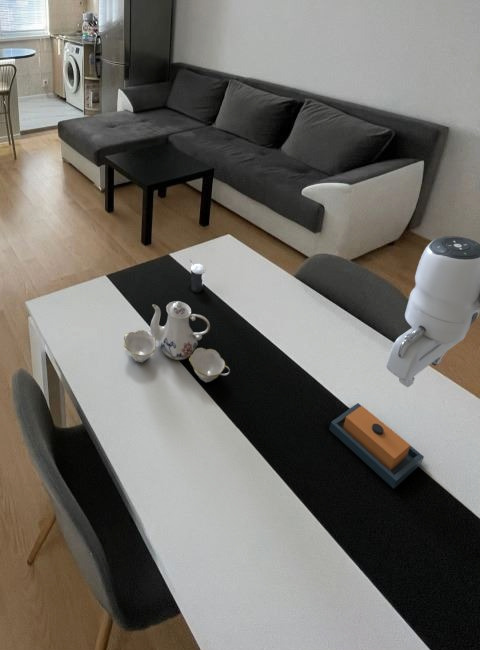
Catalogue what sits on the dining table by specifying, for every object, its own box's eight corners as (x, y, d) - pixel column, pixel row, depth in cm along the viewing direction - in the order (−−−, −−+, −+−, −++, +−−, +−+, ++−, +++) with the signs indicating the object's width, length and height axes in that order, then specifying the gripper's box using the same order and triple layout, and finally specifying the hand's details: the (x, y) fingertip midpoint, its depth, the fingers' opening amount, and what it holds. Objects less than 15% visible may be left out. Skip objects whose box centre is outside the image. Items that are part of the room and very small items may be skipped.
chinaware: (118, 372, 114) (115, 330, 106) (130, 322, 128) (128, 281, 120) (228, 397, 106) (234, 353, 98) (228, 341, 119) (233, 298, 112)
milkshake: (193, 281, 143) (194, 256, 140) (206, 289, 140) (208, 264, 136) (184, 287, 141) (186, 262, 137) (198, 295, 137) (200, 270, 133)
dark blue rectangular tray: (421, 464, 88) (424, 456, 87) (393, 489, 84) (396, 481, 83) (355, 410, 99) (357, 402, 98) (328, 429, 96) (330, 422, 95)
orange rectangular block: (406, 457, 88) (411, 442, 87) (390, 471, 86) (395, 456, 84) (358, 417, 97) (362, 402, 95) (342, 429, 95) (346, 414, 93)
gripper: (423, 352, 72) (406, 410, 77) (485, 307, 80) (465, 362, 85) (384, 328, 77) (370, 383, 82) (445, 288, 85) (429, 340, 90)
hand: (419, 372), depth 84 cm, fingers open, 8 cm apart
